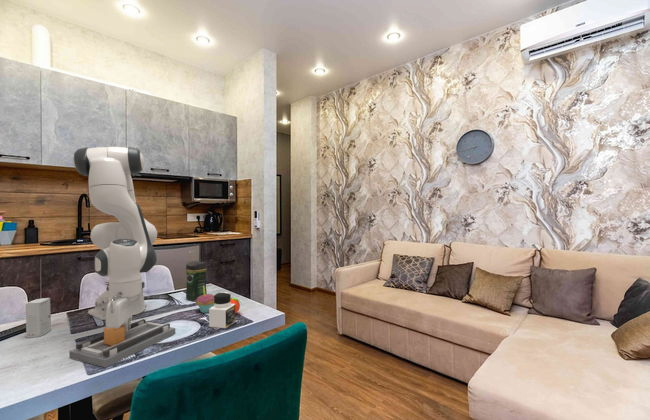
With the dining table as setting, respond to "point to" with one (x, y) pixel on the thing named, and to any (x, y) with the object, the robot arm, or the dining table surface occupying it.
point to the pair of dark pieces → (127, 343)
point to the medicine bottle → (222, 311)
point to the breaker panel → (95, 351)
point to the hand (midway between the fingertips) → (125, 331)
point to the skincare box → (38, 317)
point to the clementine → (237, 304)
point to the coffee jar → (195, 279)
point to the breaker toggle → (113, 335)
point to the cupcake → (205, 301)
